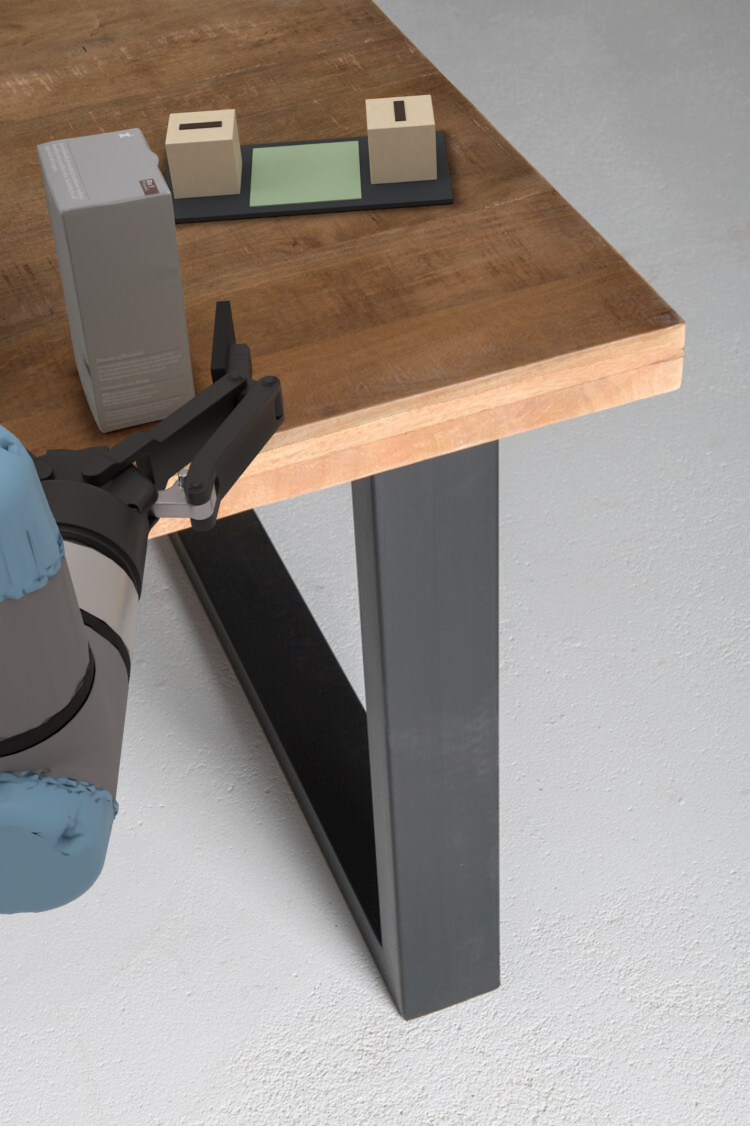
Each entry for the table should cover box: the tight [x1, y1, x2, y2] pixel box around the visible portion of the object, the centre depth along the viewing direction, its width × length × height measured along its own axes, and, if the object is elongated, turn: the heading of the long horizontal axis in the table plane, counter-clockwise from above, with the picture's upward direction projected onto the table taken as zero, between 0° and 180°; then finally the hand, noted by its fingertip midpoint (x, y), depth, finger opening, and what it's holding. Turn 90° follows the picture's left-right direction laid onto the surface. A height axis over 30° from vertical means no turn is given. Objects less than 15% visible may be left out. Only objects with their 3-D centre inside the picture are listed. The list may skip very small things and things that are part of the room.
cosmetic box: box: [36, 127, 196, 434], centre depth 85 cm, size 8×7×16 cm
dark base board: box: [164, 94, 454, 224], centre depth 108 cm, size 22×11×5 cm, turn 92°
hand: (106, 329), depth 80 cm, fingers open, 13 cm apart
